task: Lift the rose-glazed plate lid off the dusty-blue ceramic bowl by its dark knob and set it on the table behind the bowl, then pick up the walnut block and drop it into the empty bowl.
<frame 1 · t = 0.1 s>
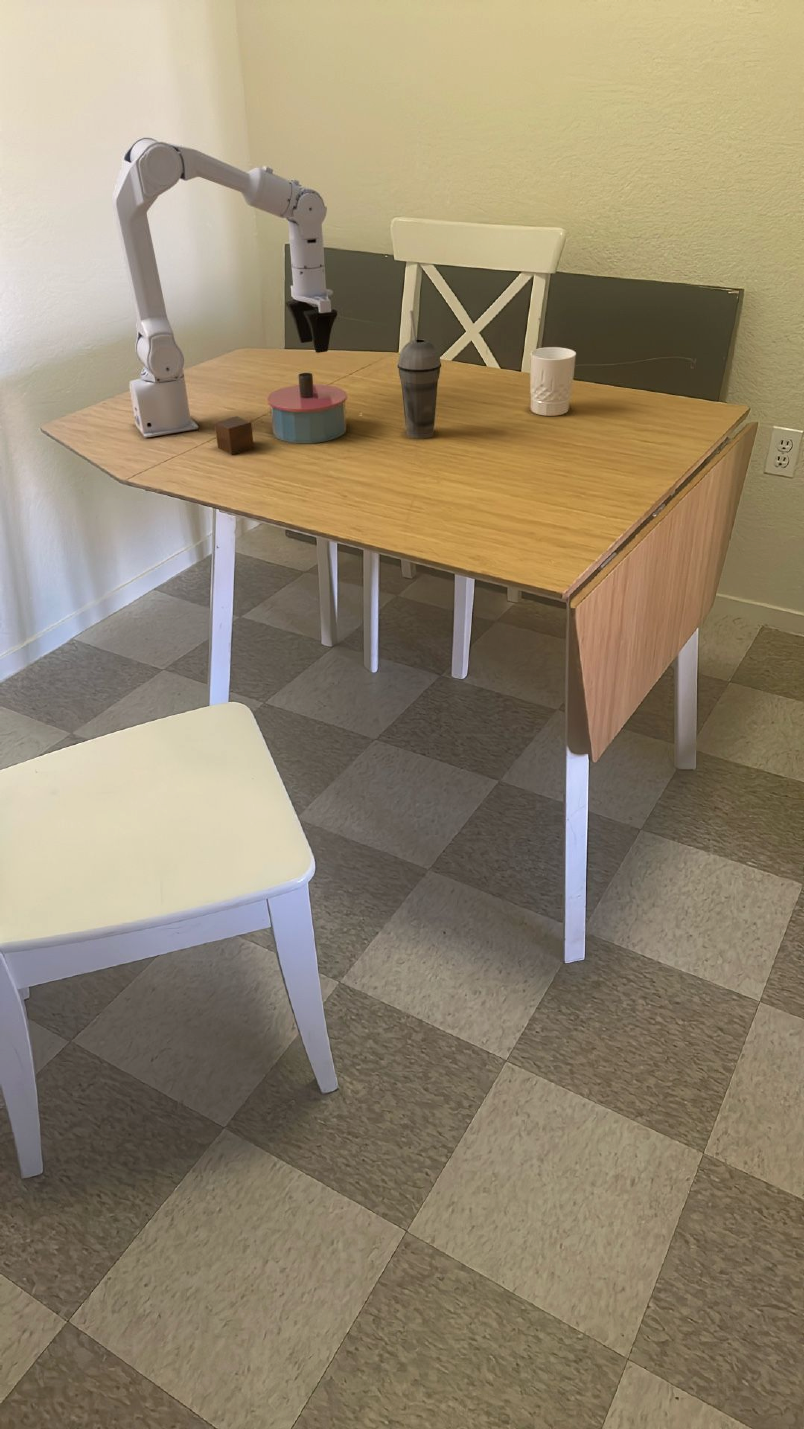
hand: (313, 346, 176), 10 cm above the table, tool pointing down, fingers open, 7 cm apart
block: (236, 448, 163), on the table
bowl: (309, 430, 169), on the table
lid: (307, 399, 166), point 5 cm above the table, touching bowl
beverage cup: (420, 435, 167), on the table
white cup: (549, 411, 175), on the table
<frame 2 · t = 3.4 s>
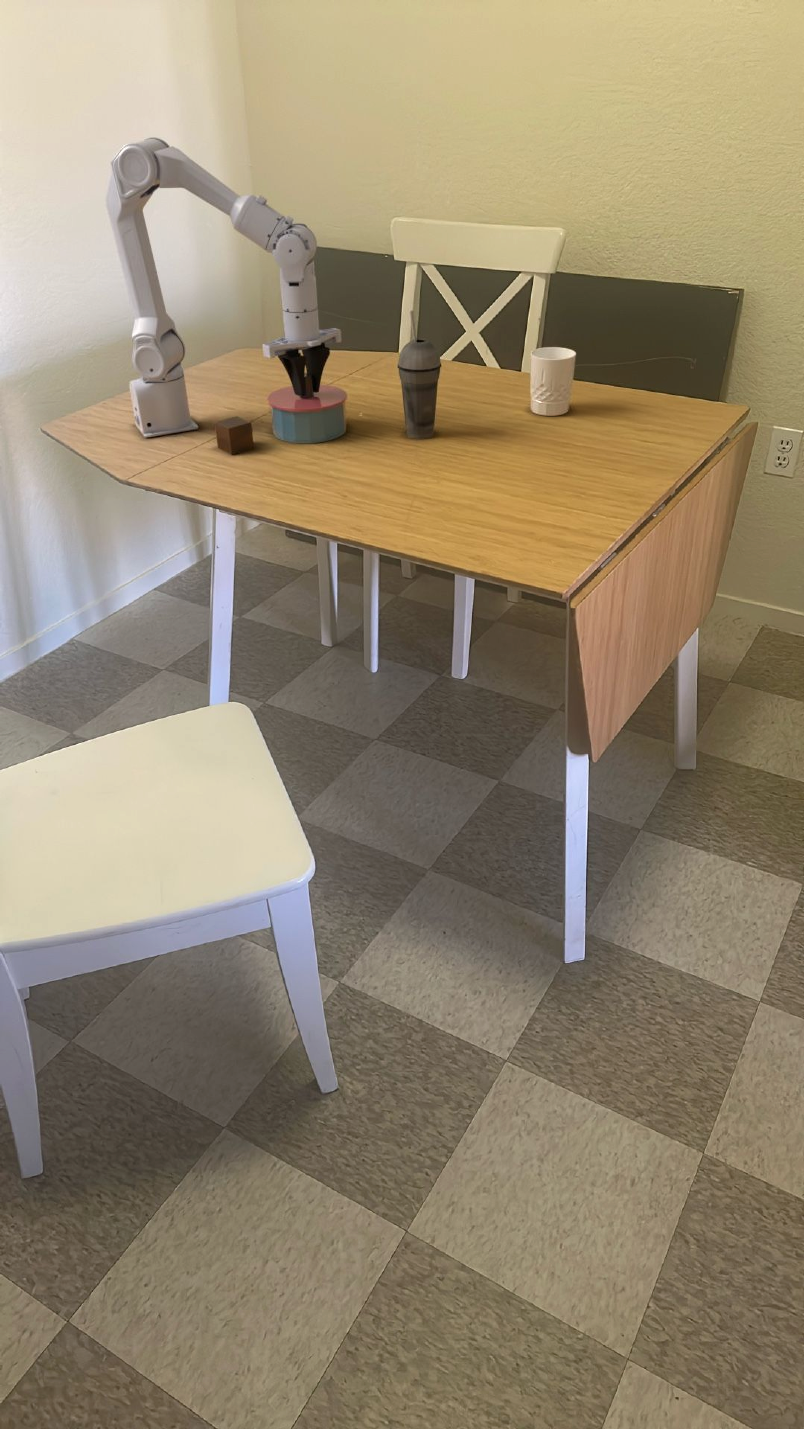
hand: (306, 393, 166), 7 cm above the table, tool pointing down, fingers closed on lid, 2 cm apart
lid: (307, 399, 166), point 5 cm above the table, touching bowl, gripper
everything else where it was.
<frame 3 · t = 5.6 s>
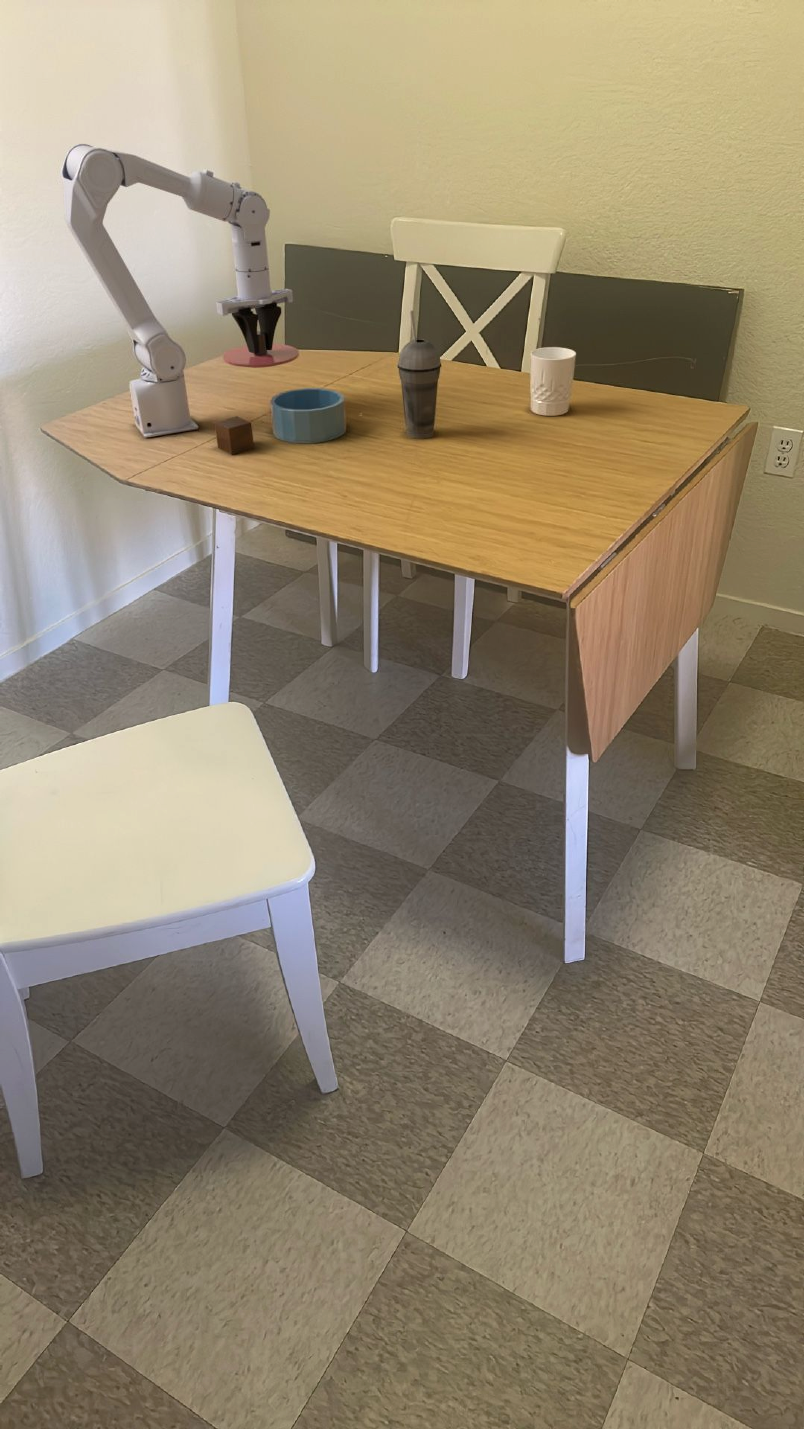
hand: (260, 350, 174), 10 cm above the table, tool pointing down, fingers closed on lid, 2 cm apart
lid: (261, 356, 175), point 9 cm above the table, touching gripper
everything else where it was.
when the fingers open (2 cm above the table, at t = 8.0 s): lid stays where it is, point 1 cm above the table.
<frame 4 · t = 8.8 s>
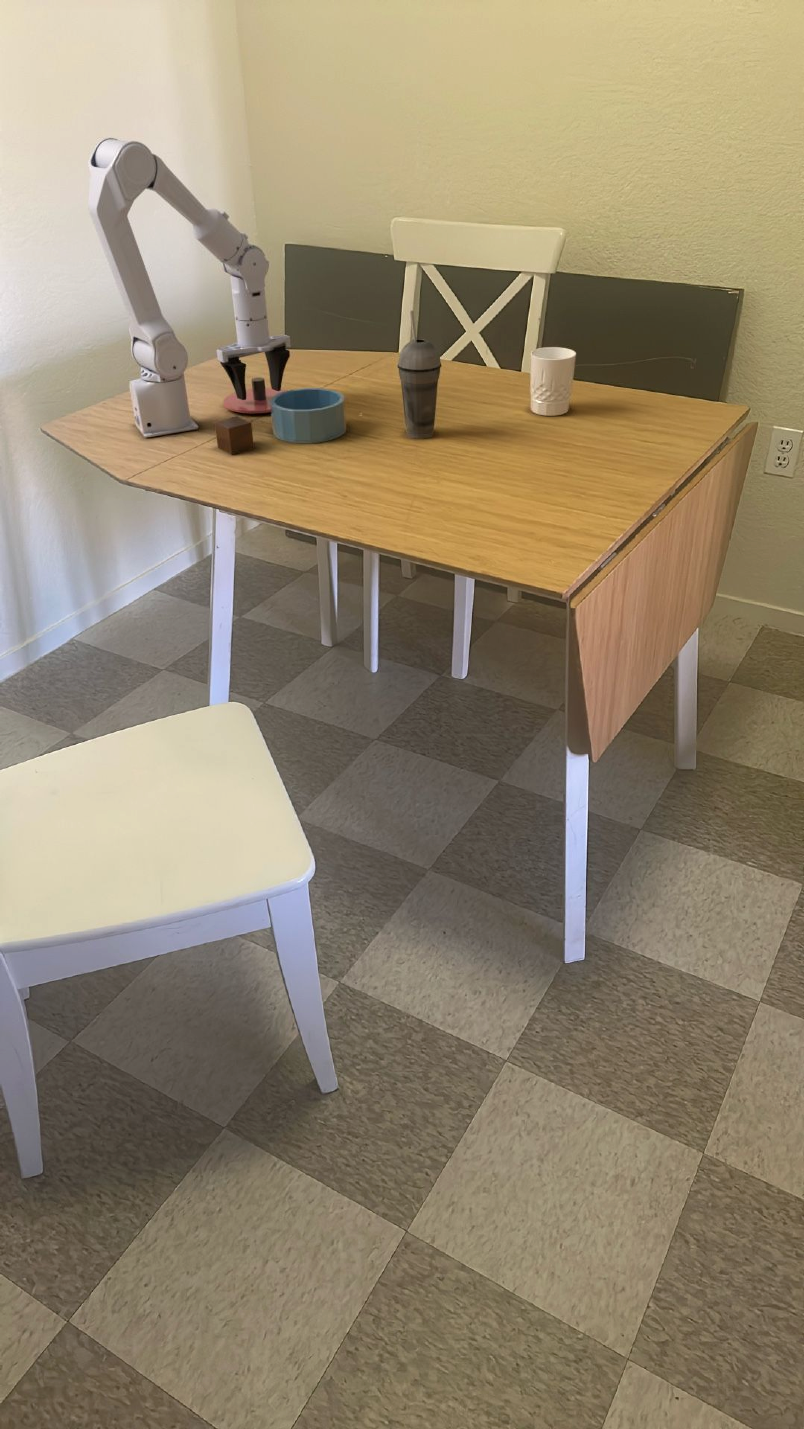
hand: (259, 394, 181), 2 cm above the table, tool pointing down, fingers open, 7 cm apart
lid: (260, 401, 181), point 1 cm above the table
everything else where it was.
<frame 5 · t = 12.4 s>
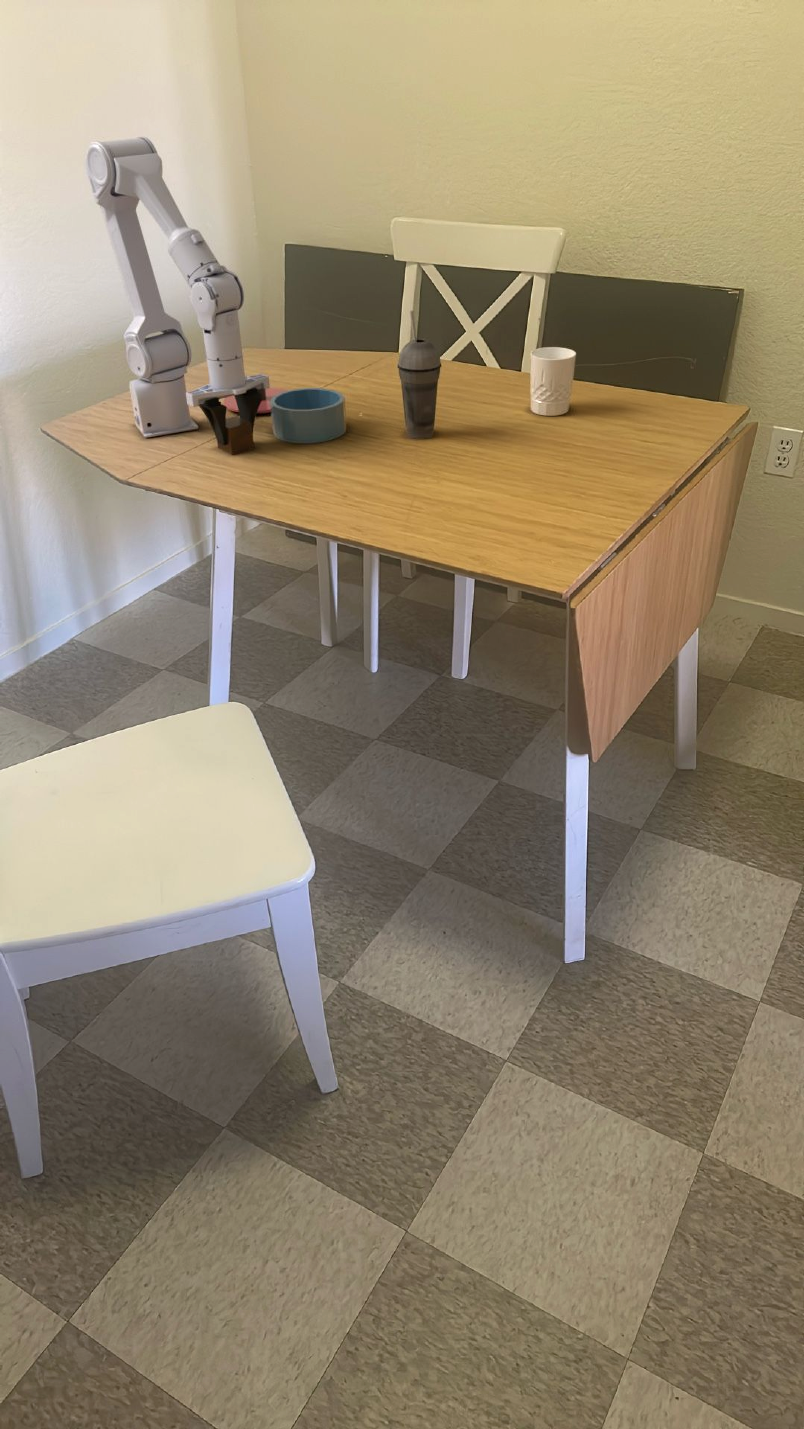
hand: (234, 440, 162), 1 cm above the table, tool pointing down, fingers closed on block, 4 cm apart
block: (236, 448, 163), on the table, touching gripper
everything else where it was.
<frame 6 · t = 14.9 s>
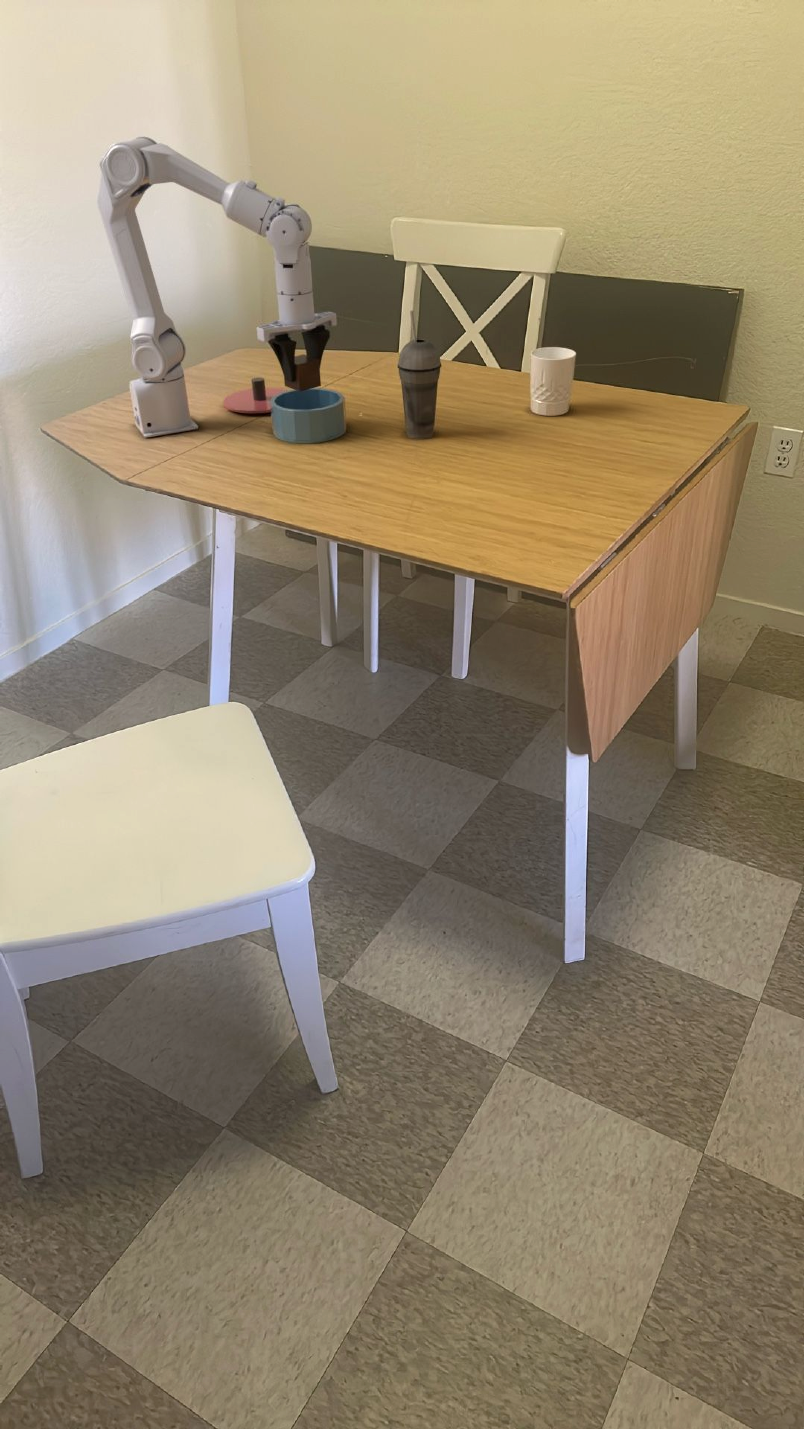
hand: (301, 377, 164), 9 cm above the table, tool pointing down, fingers closed on block, 4 cm apart
block: (302, 386, 164), point 8 cm above the table, touching gripper
everything else where it was.
when the fingers open (2 cm above the table, at t = 17.5 s): block stays where it is, resting on bowl.
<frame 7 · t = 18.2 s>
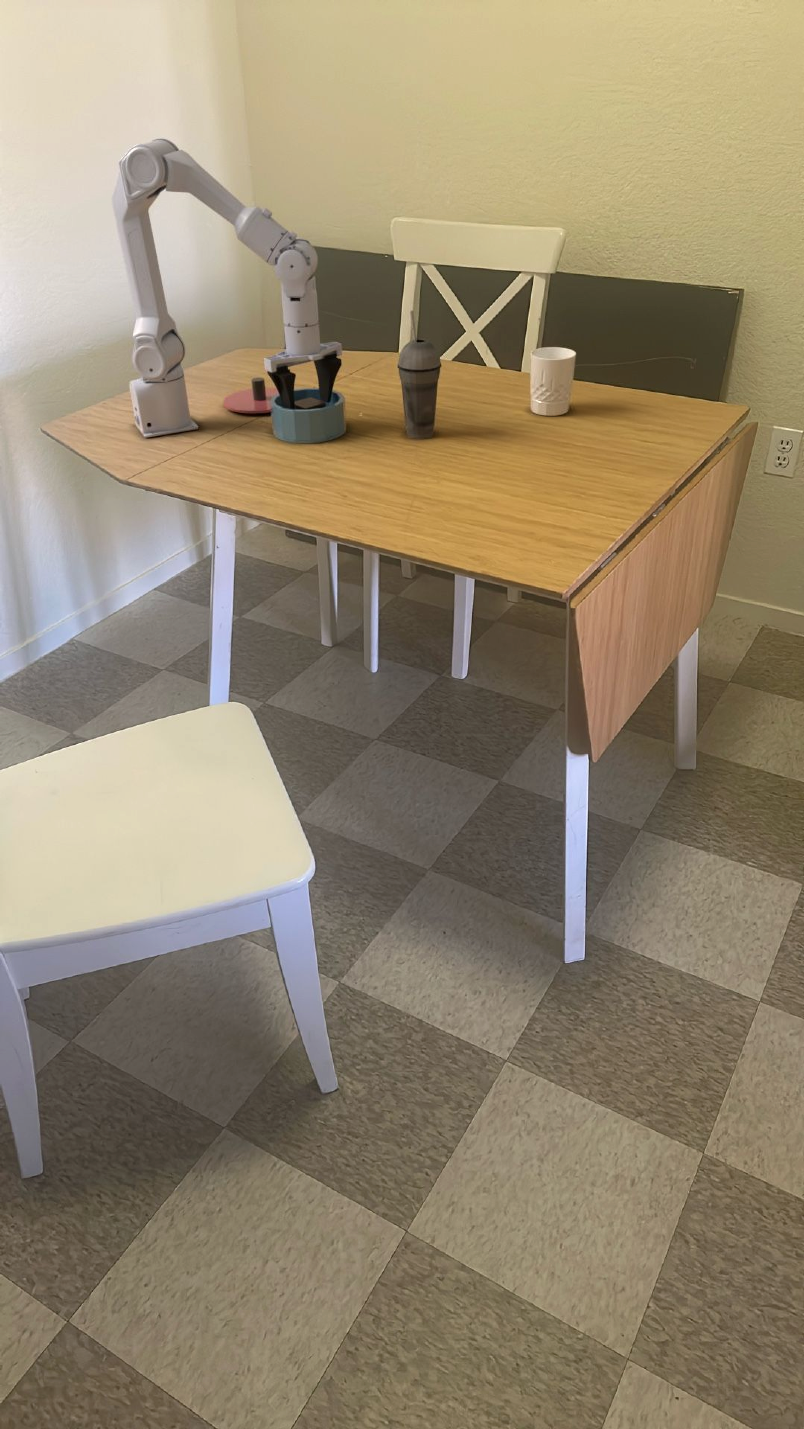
hand: (307, 406, 167), 4 cm above the table, tool pointing down, fingers open, 7 cm apart
block: (309, 428, 169), point 1 cm above the table, touching bowl
everything else where it was.
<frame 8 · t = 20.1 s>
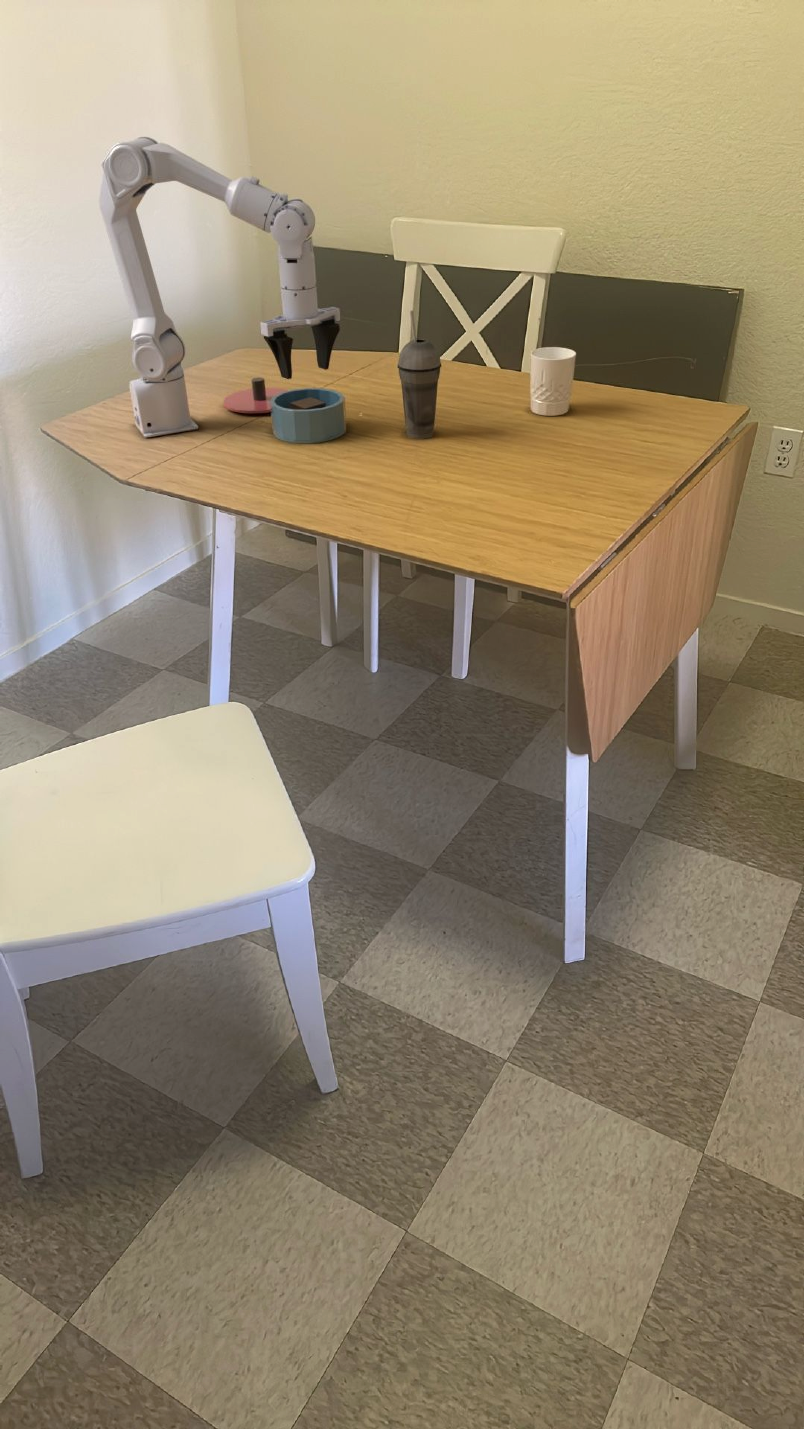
hand: (305, 372, 164), 10 cm above the table, tool pointing down, fingers open, 7 cm apart
nothing on the table moved.
at the end: lid inside the target area on the table beside the bowl (0.0 cm from its centre), point 0.6 cm above the table; lid tilted 0°; block inside the target area in the bowl (0.0 cm from its centre), point 0.5 cm above the bowl's base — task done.
